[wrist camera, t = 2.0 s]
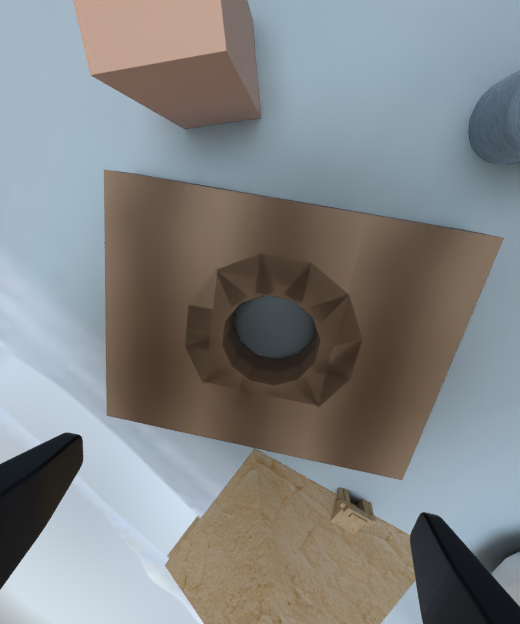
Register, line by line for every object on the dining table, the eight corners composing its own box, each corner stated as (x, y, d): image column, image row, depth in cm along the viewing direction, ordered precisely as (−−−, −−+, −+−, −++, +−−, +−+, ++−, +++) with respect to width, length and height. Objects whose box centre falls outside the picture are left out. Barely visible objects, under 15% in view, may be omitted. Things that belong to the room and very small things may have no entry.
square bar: (252, 18, 15) (202, -162, 7) (261, 117, 16) (226, 50, 9) (169, 34, 15) (45, -118, 8) (184, 128, 17) (90, 75, 9)
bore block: (470, 231, 17) (503, 238, 14) (389, 443, 22) (402, 480, 19) (135, 173, 18) (104, 169, 15) (130, 388, 23) (106, 415, 20)
